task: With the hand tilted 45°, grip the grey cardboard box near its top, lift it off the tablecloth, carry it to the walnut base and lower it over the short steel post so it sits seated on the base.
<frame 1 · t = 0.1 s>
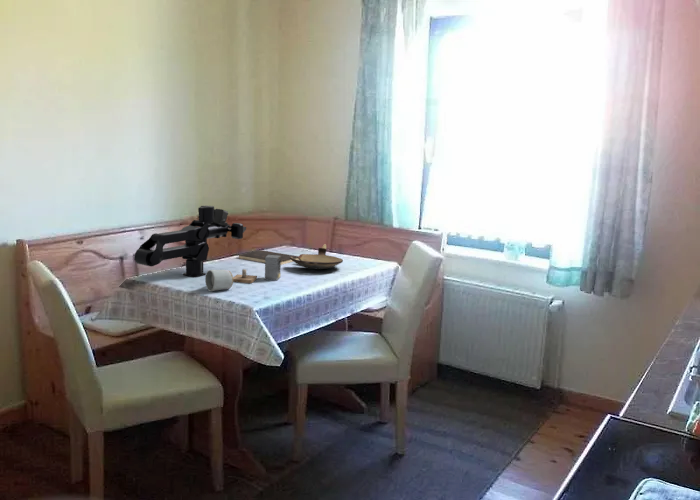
hand: (237, 227, 285), 17 cm above the table, tool horizontal, fingers open, 9 cm apart
oil lamp: (319, 268, 291), on the table
post base: (244, 280, 261), on the table
grey cardboard box: (272, 278, 266), on the table
ceramic mug: (217, 289, 246), on the table
hardcover book: (269, 260, 303), on the table
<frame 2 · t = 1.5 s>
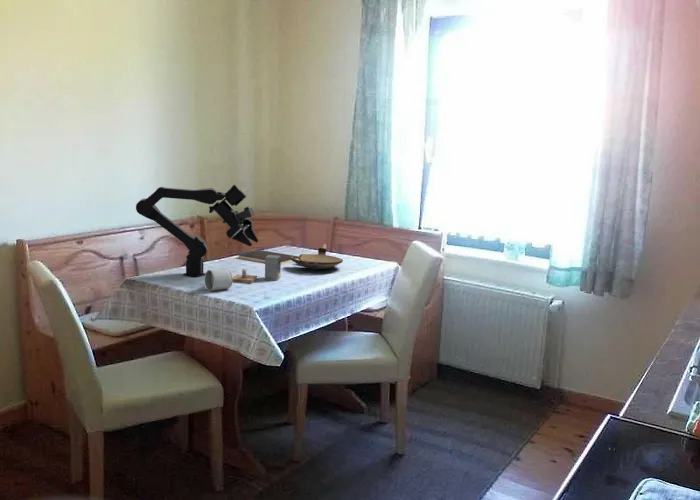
hand: (254, 243, 264), 14 cm above the table, tool tilted 45°, fingers open, 9 cm apart
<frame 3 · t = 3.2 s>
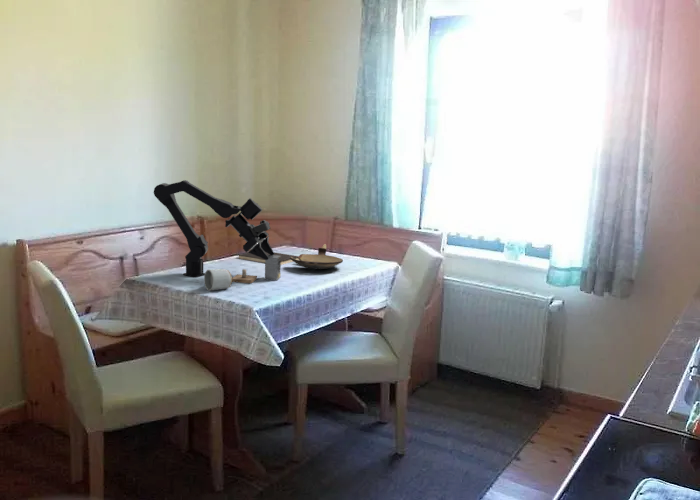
hand: (270, 257, 264), 9 cm above the table, tool tilted 45°, fingers open, 9 cm apart
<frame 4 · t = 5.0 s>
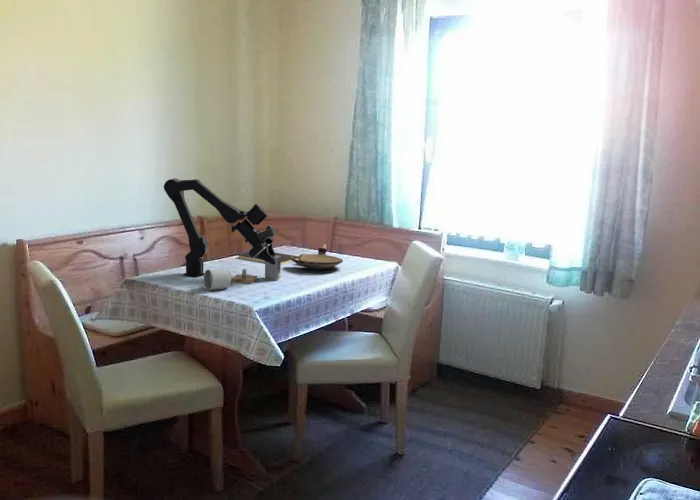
hand: (276, 262, 264), 7 cm above the table, tool tilted 45°, fingers closed on grey cardboard box, 5 cm apart
grey cardboard box: (272, 278, 266), on the table, touching gripper
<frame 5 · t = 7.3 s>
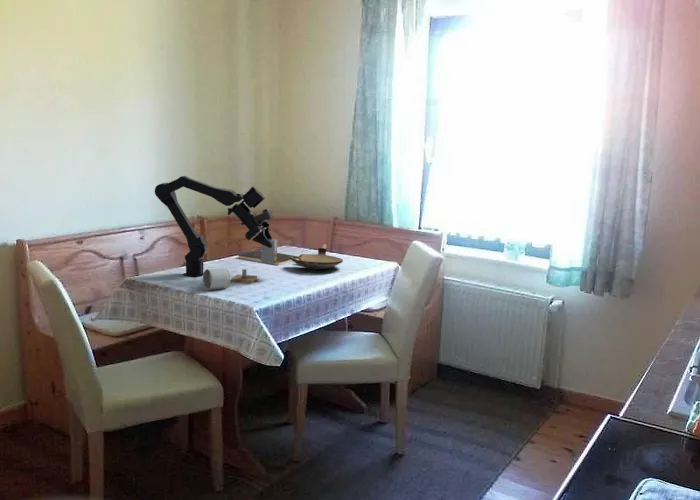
hand: (272, 246, 263), 13 cm above the table, tool tilted 45°, fingers closed on grey cardboard box, 5 cm apart
grey cardboard box: (268, 262, 264), point 7 cm above the table, touching gripper
when the fingers open (9 cm above the table, at t = 9.8 s): grey cardboard box drops 1 cm, resting on post base.
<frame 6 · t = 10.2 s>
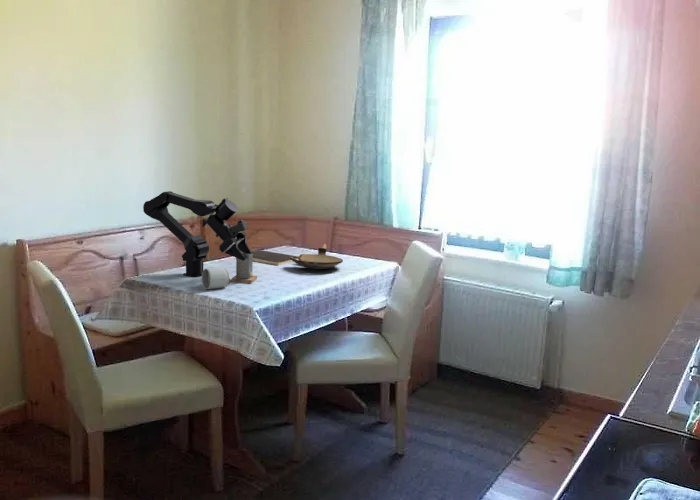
hand: (248, 257, 259), 9 cm above the table, tool tilted 45°, fingers open, 9 cm apart
grey cardboard box: (244, 277, 261), point 1 cm above the table, touching post base
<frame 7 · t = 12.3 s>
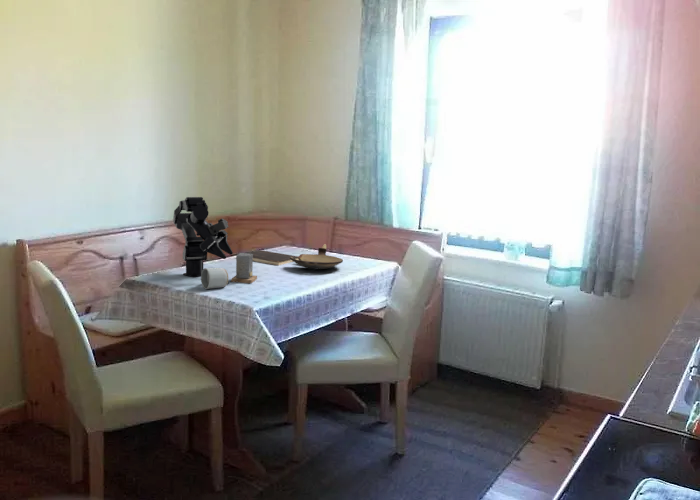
hand: (228, 256, 260), 9 cm above the table, tool tilted 45°, fingers open, 9 cm apart
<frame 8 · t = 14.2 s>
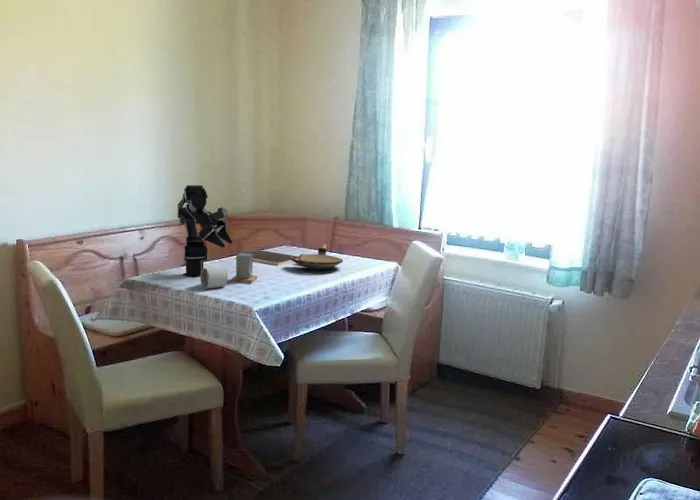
hand: (228, 244, 259), 14 cm above the table, tool tilted 45°, fingers open, 9 cm apart
at the end: grey cardboard box 0.0 cm off-centre on the post base, point 1.2 cm above the post base's base; grey cardboard box tilted 0°; the gripper is holding nothing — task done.
